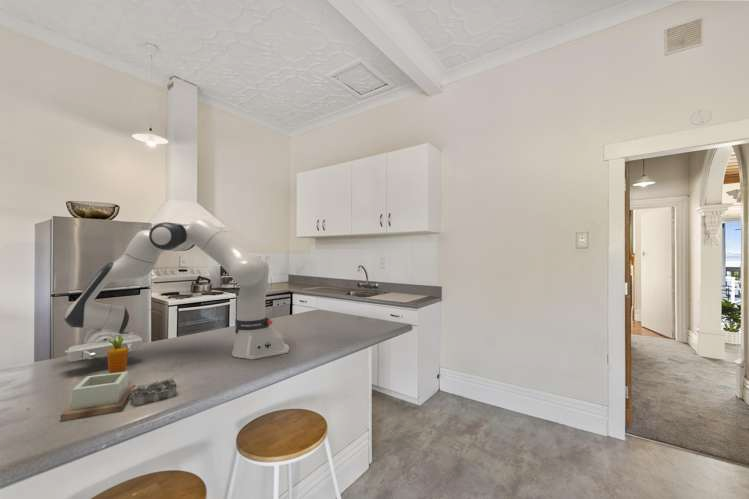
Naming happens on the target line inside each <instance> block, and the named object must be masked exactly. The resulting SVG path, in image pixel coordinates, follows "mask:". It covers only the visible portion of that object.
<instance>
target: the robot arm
mask: <svg viewBox="0 0 749 499" xmlns="http://www.w3.org/2000/svg"><path fill="white" fill-rule="evenodd" d="M195 246H196V247H198V248H199V249H200V250H201V251H203V253H205V254H206V255H207V256H209V257H210V258H211V259H212V260H213V261H215V262H217V264H219V266H221V267H222V268H223V270H224V271H225V272H226V273H227V274H228V275H229V276H230V278H232V280H233V281H234V282H235V283H236V284H237V285H239V286H240V287H239V291H238V295H237V298H236V319H235V321H234V333H235V337H234V344H233V347H232V350H231V351H232V352H231V356H232V357H234V358H239V359H245V360H256V359H257V360H258V359H261V358H262V359H263V358H267V357H268V358H269V357H274V356H278V355H284V354H287V353H289V352H290V347H289V345H288V344H287V343H285V342H284V337H283V335H282V333H281V332H280V331H278V330H276V329H275V328H274V327H272V326H271V325H273V320H272V319H271V318H269V317H266V297H267V292H268V291H267V290H268V282H269V273H270V267H269V265H268V263H267V262H266V260H264V259H262V258H259V257H253V256H251V254H249V253H248V252H247V251H246V250H245V249H244V248H243V247H242V246H241V244H240V243H239V242H238V241H236V240H235V239H234V238H233V237H231V236H230V235H229V234H228V233H226V232H225V231H224V230H223V229H222V228H220V227H218V226H217V225H216V224H214V223H213V222H210V220H209V221H208V220H207V219H206V218H197V219H195V220H193V221H192V222H190V223H189V224H188V225H183V224H181V223H174V222H167V221H165V222H159V223H157V224H155V225H154V226H152V228H151V229H150V230H148V229H145V230H139V232H137V233H136V234H135V236H134V237H133V238H132V239H131V241H130V242H129V244H128V245H127V247H126V248H125V250H124V252H123V254H122V256H120V257H119V258H118V259H117V260H115V261H112V262H108V263H106V264H105V265H104V266H103V267H102V268H101V269H100V270H99V271H98V273H96V274H95V276H94V278H92V280H91V281H90V282H89V284H88V285H87V286H86V287H85V289H84V290H83V291H82V292H81V294H80V295H78V297H77V298H76V299H75V300H74V302H72V303H71V304H70V305H69V306H68V308H67V310H66V311H65V313H64V317H63V320H64V322H66V324H67V325H68V326H69V327H71V328H82V329H83V328H84V329H85V328H87V329H90V330H88V331H87V333H86V334H85V335H84V344H83V343H82V344H77V345H72V346H70V347H69V348H68V349H66V350H65V351H64V354H65V355H66V356H67V357H66V358H67V362H76V361H81V360H92V359H94V360H95V358H96V359H97V358H98V359H104V358H108V351H109V350H110V349H112V348H114V346H113V344H111V343H110V342H108V341H109V340H111V341H113V340H114V339H116V341H117V342H118V335H122V337H123V338H124V339H123V341H122V343H121V347H126V348H127V349H128V353H130V352H131V351H139V350H142V349H143V346H144V345H143V343H144V342H143V338H142V337H141V336H139V335H138V334H135V333H134V332H132V331H129V332H127V331H126V332H125V330H126V329H127V326H128V324H129V320H130V314H129V311H128V309H127V308H126V307H125V306H121V305H117V304H116V305H114V304H108V303H104V302H103V303H102V302H96V301H94V300H95V299H96V298H97V296H98V295H99V294H100V293H101V292H102V290H103V289H104V288H105V286H107V285H108V284H110V283H112V282H116V281H125V280H127V281H128V280H137V279H141V278H144V277H146V276H148V275H150V273H151V272H152V271H153V270H154V268H155V266H156V264H157V262H158V260H159V258H160V256H161V254H162V253H163V252H164V251H169V252H170V251H172V252H185V251H189V250H191V249H193V248H194V247H195ZM113 342H114V341H113Z"/></svg>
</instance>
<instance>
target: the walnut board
mask: <svg viewBox="0 0 749 499" xmlns="http://www.w3.org/2000/svg"><path fill="white" fill-rule="evenodd" d="M134 387H136V384H130V385H129V384H128V389H127V391H126V392H125V394H124V395H123V397H122V398H121V399H120V401H119V402H118V403H112V404H105V405H99V406H93V407H86V408H80V409H73V410H72V403H70V405H69V406H68V407H66V409H65V410H64V411H63V412H62V413H61V414H60V422H65V421H70V420H75V419H76V420H77V419H83V418H84V419H85V418H89V417H95V416H101V415H107V414H112V413H118V412H119V413H120V412H123V410H124V408H125V407H126V406H127V404H128V402H129V401H130V399H131V389H133V388H134Z"/></svg>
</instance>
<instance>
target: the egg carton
mask: <svg viewBox="0 0 749 499" xmlns="http://www.w3.org/2000/svg"><path fill="white" fill-rule="evenodd" d="M174 379H175V378H174V377H170V378H167V379H165V380H160V381H154V382H151V383H147V384H139V385H135V387H134V388H133V389H131V397H130V399H131V400H130V401H131V402H132V406H142V405H144V404H145V403H146V404H147V403H149V402H153V403H154V402H157V401H159V400H161V399H163V398H166V399H171V398H173V397H174V396H176V395H177V388H178V386H177V383H176V380H174Z"/></svg>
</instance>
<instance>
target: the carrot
mask: <svg viewBox="0 0 749 499" xmlns="http://www.w3.org/2000/svg"><path fill="white" fill-rule="evenodd" d="M123 339H124V338H123V337H122V335H118V342H117V341H116V339H114V340H113V341H114V342H113V341H111V340H109V341H108V342H110V343H111V344H113V346H114V348H112V349H110V350H109V351H108V357H107V368H108V372H109V373H108V374H110V373H118V372H126V370H127V365H128V357H129V356H128V355H129V352H128V349H127V348H126V347H121V343H122V341H123Z"/></svg>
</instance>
